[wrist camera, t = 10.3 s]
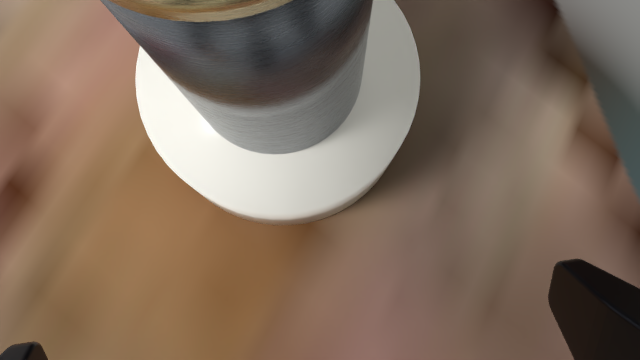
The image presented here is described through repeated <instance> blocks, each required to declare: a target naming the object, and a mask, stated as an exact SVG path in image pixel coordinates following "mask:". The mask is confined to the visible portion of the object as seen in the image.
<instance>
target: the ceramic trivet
mask: <svg viewBox="0 0 640 360" xmlns="http://www.w3.org/2000/svg"><path fill="white" fill-rule="evenodd" d="M419 90H420V62H419V57H418V52H417V47H416V43H415V40H414V37H413V34H412V31H411V28H410V26H409V24H408V22H407V20H406V18H405V16H404V14H403V12H402V11H401V10H400V8H399V7H398V5H397V4H396V2H395V1H394V0H373V4H372V11H371V18H370V26H369V33H368V40H367V47H366V54H365V61H364V68H363V75H362V82H361V87H360V91H359V94H358V97H357V100H356V103H355V105H354V107H353V108H352V110H351V112H350V114H349V115H348V117H347V118H346V119H345V121H344V122H343V123H342V124H341V125H340V126H339V128H338V129H337V130H336V131H334V132H333V133H332V134H331V135H330V136H328V137H327V138H325V139H324V140H322V141H321V142H319V143H317V144H315V145H313V146H311V147H309V148H306V149H303V150H300V151H297V152H292V153H287V154H262V153H257V152H252V151H249V150H246V149H243V148H240V147H238V146H236V145H234V144H232V143H231V142H229V141H228V140H226V139H225V138H223V137H222V136H221V135H219V134H218V133H217V132H216V131H215V130H214V129H213V128H212V127H211V126H210V125H209V124H208V122H207V121H206V120H205V119H204V118H203V117H202V116H201V114H200V113H199V112H198V111H197V110H196V109H195V108H194V106H193V105H192V104H191V103H190V102H189V101H188V100H187V98H186V97H185V96H184V95H183V94H182V93H181V92H180V90H179V89H178V88H177V87H176V86H175V85H174V84H173V82H172V81H171V80H170V79H169V78H168V77H167V76H166V75H165V73H164V72H163V71H162V70H161V69H160V68H159V67H158V65H157V64H156V63H155V62H154V61H153V60H152V59H151V57H150V56H149V55H148V54H147V53H146V52H145V51H144V49H143V48H142V47H141V46H140V49H139V54H138V59H137V64H136V94H137V102H138V106H139V111H140V115H141V119H142V121H143V124H144V126H145V129H146V132H147V134H148V136H149V138H150V140H151V141H152V143H153V145H154V147H155V149H156V150H157V152H158V153H159V154H160V156H161V157H162V158H163V160H164V161H165V162H166V164H167V165H168V166H169V167H170V168H171V169H172V170H173V171H174V172H175V173H176V174H177V175H178V176H179V177H180V178H181V179H182V180H184V181H185V182H186V183H187V184H189V185H190V186H191V187H192V188H194V189H195V190H196V191H197V192H199V193H200V194H201V195H202V196H204V197H205V198H206V199H208V200H209V201H210V202H212V203H213V204H214V205H216V206H217V207H219V208H221V209H223V210H224V211H226V212H228V213H230V214H232V215H235V216H237V217H240V218H242V219H245V220H249V221H252V222H256V223H261V224H269V225H297V224H304V223H310V222H313V221H317V220H321V219H324V218H326V217H329V216H331V215H334V214H336V213H338V212H340V211H342V210H343V209H345V208H347V207H349V206H350V205H352V204H353V203H355V202H356V201H357V200H358V199H360V198H361V197H362V196H364V195H365V194H366V193H367V192H368V191H369V190H370V189H371V188H372V187H373V186H374V185H375V184H376V182H377V181H378V180H379V178H380V177H381V176H382V174H383V173H384V172H385V170H386V169H387V167H388V165H389V164H390V162H391V161H392V159H393V158H394V156H395V154H396V153H397V151H398V150H399V148H400V146H401V144H402V143H403V141H404V139H405V137H406V135H407V133H408V131H409V129H410V126H411V124H412V121H413V118H414V116H415V112H416V108H417V103H418V99H419Z"/></svg>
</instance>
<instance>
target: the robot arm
mask: <svg viewBox="0 0 640 360" xmlns="http://www.w3.org/2000/svg"><path fill="white" fill-rule="evenodd" d="M548 300H549V305H550V308H551V311H552V313H553V315H554V317H555V319H556V321H557V323H558V326H559V328H560V330H561V332H562V334H563V336H564V338H565V341H566V343H567V345H568V347H569V349H570V351H571V353H572V355H573V358H574V360H640V289H639V288H637V287H635V286H633V285H631V284H629V283H627V282H625V281H623V280H621V279H619V278H617V277H615V276H613V275H612V274H610V273H608V272H606V271H604V270H602V269H600V268H598V267H596V266H594V265H592V264H590V263H588V262H586V261H584V260H581V259H571V260H564V261H560V262H557V263H556V265H555V267H554V270H553V275H552V280H551V284H550V289H549V294H548ZM0 360H48V358H47V356H46V354H45V352H44V350H43V348H42V346H41V345H40V344H39V343H38V342H27V343H21V344H15V345H12V346H10V347H9V348H7V349H6V350H5V351H4V352H3V353H2V354H1V355H0Z"/></svg>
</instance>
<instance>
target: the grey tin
mask: <svg viewBox="0 0 640 360" xmlns="http://www.w3.org/2000/svg"><path fill="white" fill-rule="evenodd" d="M101 1H102V3H103V4H104V5H105V6H106V7H107V8H108V9H109V11H110V12H111V13H112V14H113V15H114V16H115V17H116V19H117V20H118V21H119V22H120V23H121V24H122V25H123V27H124V28H125V29H126V30H127V31H128V32H129V33H130V35H131V36H132V37H133V38H134V39H135V40H136V41H137V43H138V44H139V45H140V46H141V47H142V48H143V49H144V51H145V52H146V53H147V54H148V55H149V56H150V57H151V59H152V60H153V61H154V62H155V63H156V64H157V65H158V67H159V68H160V69H161V70H162V71H163V72H164V73H165V75H166V76H167V77H168V78H169V79H170V80H171V81H172V82H173V84H174V85H175V86H176V87H177V88H178V89H179V90H180V92H181V93H182V94H183V95H184V96H185V97H186V98H187V100H188V101H189V102H190V103H191V104H192V105H193V106H194V108H195V109H196V110H197V111H198V112H199V113H200V114H201V116H202V117H203V118H204V119H205V120H206V121H207V122H208V124H209V125H210V126H211V127H212V128H213V129H214V130H215V131H216V132H217V133H218V134H219V135H221V136H222V137H223V138H225V139H226V140H228V141H229V142H231V143H232V144H234V145H236V146H238V147H240V148H243V149H246V150H249V151H252V152H257V153H262V154H287V153H292V152H297V151H300V150H303V149H306V148H309V147H311V146H313V145H315V144H317V143H319V142H321V141H322V140H324V139H325V138H327V137H328V136H330V135H331V134H332V133H333V132H334V131H336V130H337V129H338V128H339V126H340V125H341V124H342V123H343V122H344V121H345V119H346V118H347V117H348V115H349V114H350V112H351V110H352V108H353V107H354V105H355V103H356V100H357V97H358V94H359V91H360V87H361V82H362V75H363V68H364V61H365V54H366V47H367V40H368V33H369V26H370V18H371V11H372V4H373V0H101Z"/></svg>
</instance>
